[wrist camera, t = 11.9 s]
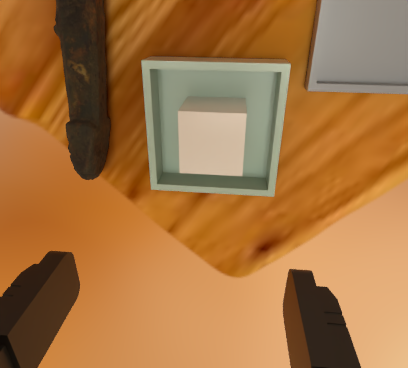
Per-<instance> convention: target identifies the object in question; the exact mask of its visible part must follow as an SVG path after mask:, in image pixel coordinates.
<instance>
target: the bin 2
mask: <svg viewBox="0 0 408 368" xmlns="http://www.w3.org/2000/svg"><path fill="white" fill-rule="evenodd" d="M304 88H305V89H306V90H307V91H321V92H354V93H387V94H408V0H317V6H316V13H315V20H314V26H313V33H312V40H311V46H310V53H309V59H308V66H307V73H306V79H305V86H304Z"/></svg>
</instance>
